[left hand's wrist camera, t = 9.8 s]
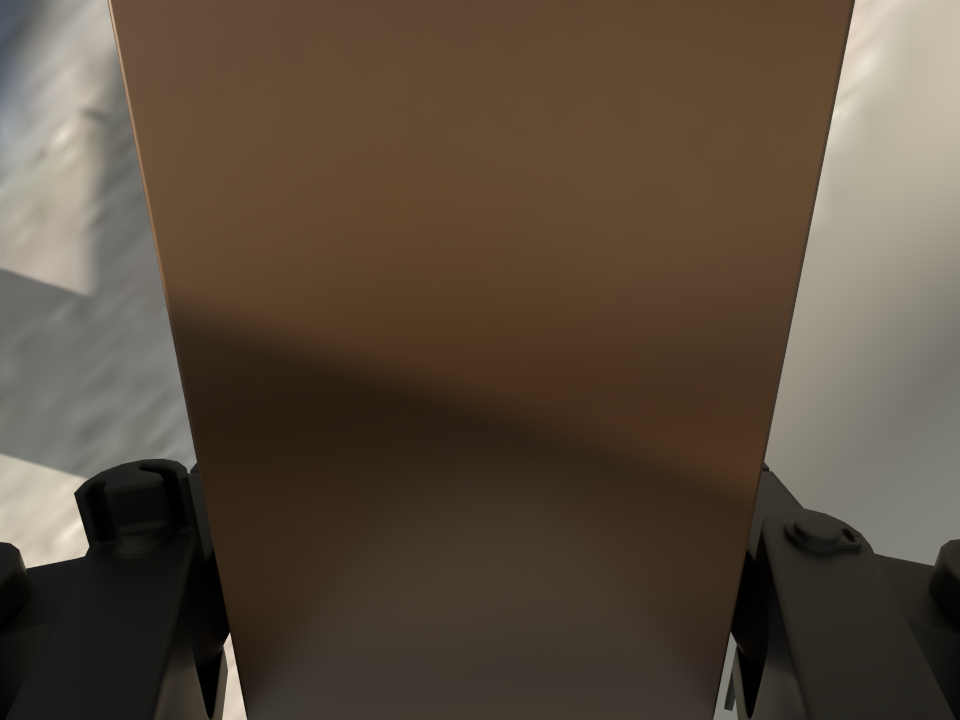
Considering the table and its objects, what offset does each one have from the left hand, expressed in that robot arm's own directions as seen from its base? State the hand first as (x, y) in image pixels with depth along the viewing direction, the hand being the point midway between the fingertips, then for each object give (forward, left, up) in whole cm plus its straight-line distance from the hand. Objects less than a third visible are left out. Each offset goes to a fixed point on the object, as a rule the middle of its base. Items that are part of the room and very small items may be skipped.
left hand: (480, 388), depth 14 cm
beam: (+18, +30, -1) cm, 35 cm away
